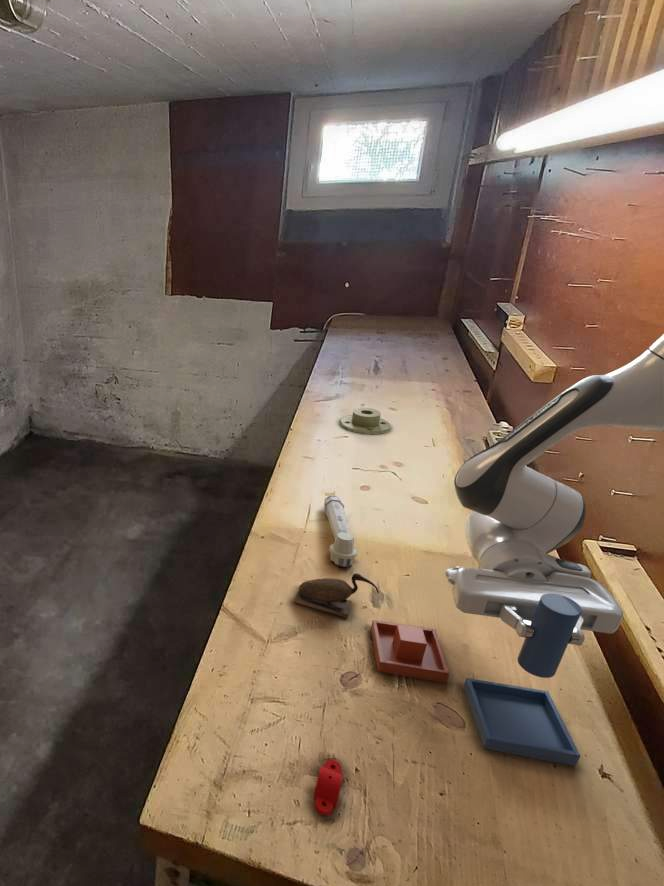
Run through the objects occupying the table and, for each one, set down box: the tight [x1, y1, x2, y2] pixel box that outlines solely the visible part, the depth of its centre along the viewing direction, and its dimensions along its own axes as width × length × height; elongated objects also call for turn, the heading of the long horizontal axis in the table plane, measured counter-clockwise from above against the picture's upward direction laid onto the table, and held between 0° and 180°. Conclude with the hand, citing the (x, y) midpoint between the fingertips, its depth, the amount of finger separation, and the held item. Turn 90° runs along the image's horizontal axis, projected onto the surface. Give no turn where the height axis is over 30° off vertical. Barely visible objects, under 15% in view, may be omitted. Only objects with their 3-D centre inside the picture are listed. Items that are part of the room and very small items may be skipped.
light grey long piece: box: [323, 495, 358, 568], centre depth 127 cm, size 5×7×25 cm
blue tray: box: [462, 677, 581, 767], centre depth 82 cm, size 11×11×2 cm
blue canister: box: [517, 593, 582, 679], centre depth 76 cm, size 4×4×11 cm
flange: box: [340, 407, 391, 435], centre depth 185 cm, size 5×15×15 cm
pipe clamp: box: [313, 759, 344, 816], centre depth 74 cm, size 8×3×2 cm, turn 151°
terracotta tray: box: [370, 619, 450, 684], centre depth 95 cm, size 10×10×2 cm
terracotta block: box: [393, 623, 427, 662], centre depth 94 cm, size 4×4×4 cm
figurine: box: [293, 572, 380, 619], centre depth 105 cm, size 14×4×9 cm, turn 61°
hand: (552, 637), depth 75 cm, fingers closed on blue canister, 4 cm apart
